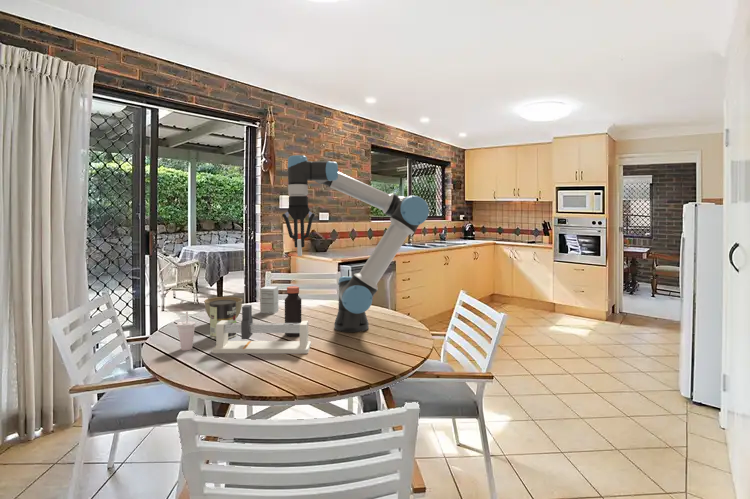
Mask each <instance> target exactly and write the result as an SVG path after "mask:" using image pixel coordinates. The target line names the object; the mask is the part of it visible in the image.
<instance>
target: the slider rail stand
mask: <svg viewBox="0 0 750 499" xmlns="http://www.w3.org/2000/svg"><path fill="white" fill-rule="evenodd" d="M226 323H228V320H221V321H220V322H219V323H217V324H216V339H215V340H216V341H215V342H216V345H215V346H214V347H213V348H211V349H212V351H211V352H212V354H307V353H308V354H309V352H310V349H311V346H312V341H311V340H309V320H301V323H300V336H299V340H288V341H287V340H270V341H269V340H229V339H228V333H224V324H226Z"/></svg>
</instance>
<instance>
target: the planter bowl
mask: <svg viewBox="0 0 750 499" xmlns="http://www.w3.org/2000/svg"><path fill="white" fill-rule="evenodd" d="M216 300H235V301H236V319H238V316H239V315H240V313H241V312H242V307H243V298H241V297H236V296H235V297H234V296H217V297H212V298H206V299H205V300H204V305H205V312H206V315H207V317H208V318H209V319H210V305H209V303H210V302H212V301H216Z"/></svg>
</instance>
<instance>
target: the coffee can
mask: <svg viewBox="0 0 750 499" xmlns="http://www.w3.org/2000/svg"><path fill="white" fill-rule="evenodd" d="M209 305H210V318H209V332H210V334H209V335H210V336H209V337H210V339H213V340H216V324H217V323H219V322H220V321H221V320H228V323H237V318H236V301H235V300H216V301H212V302H210V303H209ZM237 334H238V333H228V340H229V339H233V338H235V337H236V336H237Z"/></svg>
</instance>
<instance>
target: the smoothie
mask: <svg viewBox="0 0 750 499" xmlns="http://www.w3.org/2000/svg"><path fill="white" fill-rule="evenodd" d="M185 316H186V317H185V321H179V322H177V323H176V327H177V329H178V337H179V338H178V339H179V343H180V344H179V345H180V350H181V351H190V350H193V344H194V338H195V337H194V336H195V326H196V325H197V324H196V321H193V320H189V312H188V311H185Z"/></svg>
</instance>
